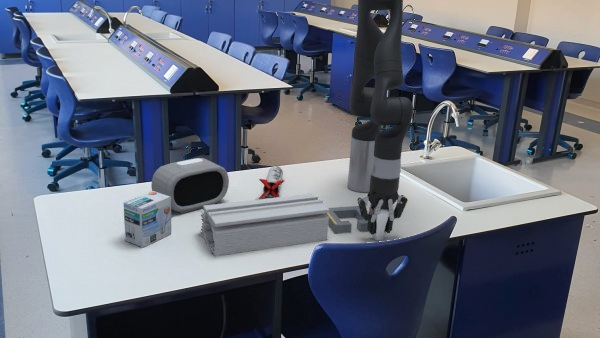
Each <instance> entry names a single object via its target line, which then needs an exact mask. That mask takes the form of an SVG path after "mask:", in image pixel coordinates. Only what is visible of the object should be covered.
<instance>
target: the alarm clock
mask: <svg viewBox="0 0 600 338" xmlns="http://www.w3.org/2000/svg"><path fill="white" fill-rule="evenodd" d="M229 179H230V178H229V174H228V172H227V170H226V169H225V167H223V166H221V165H219V164H217V163H215V162H213V161H210V160H208V159H206V158H204V157H197V158H191V159H185V160H179V161H175V162H171V163H167V164H165V165H161V166H159V168H157V169H156V170H155V172H154V174H153V175H152V179H151V191H155V192H158V193H161V194H164V195H167V196H170V197H171V211H172V210H173V211H175V212H177V213H180V214H186V213H189V212H192V211H196V210H200V209H203V206H205V205H214V204H216V203H218V202H220V201H222V200H223V199H224V198H225V197H226V194H227V193H228V189H229V183H230V180H229Z"/></svg>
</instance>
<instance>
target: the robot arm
mask: <svg viewBox="0 0 600 338" xmlns="http://www.w3.org/2000/svg"><path fill="white" fill-rule="evenodd" d="M403 8H404V0H357V28H356V29H357V30H356V37H355V44H354V57H353V58H354V59H353V77H352V82H351V83H352V84H351V87H350V88H351V90H350V96H349V103H348V105H349V106H348V107H349V112H350V113H351V115H352V116H355V117H360V118H361V117H364V118H371V119H370V120H369V121H367V122H365V123H362V124H358V125H355V126H354V127H353V128H351V129H352V130H351V139H350V150H349V151H350V152H349V162H348V164H349V166H348V176H347V188H348V189H349V190H351V191H354V192H358V193H368V194H367V195H366V196H364V197H357V203H358V205H357V206H359V208H360V212H361V216H362V217H363V218H364V219H365V220H366V221H367V220H368V226H367V230H368V231H367V232H368V233H369V234H370V235H371V236H372V235H374V231H375V219H376V216H377V215H378V213H379V211H380V209H384V210H385V209H386V210H388V211H389V219H388V223H387V227H386V232H385V234H390V233H391V232H392V231H393V226H394V220H395V219H400V218H401V216H402V215H403V212H404V210H405V207H406V206H407V203H408V198H407V197H406V196H405V195H403V194H401V195H400V194H399V187H400V178H401V169H402V165H401V164H402V161H401V160H402V159H401V158H402V153H403V152H402V150H403V143H404V140H405V137H406V134H407V131H408V129H409V127H410V124H411V122H412V119H413V115H414V106H413V103H412V101H411V100H410V98H408V97H406V96H387V93H388V91H391V90H395V89H398V88H400V87H402V86H403V84H404V73H403V72H404V71H403V70H404V69H403V60H402V38H403V34H402V33H403V14H404V13H403V12H404V11H403ZM372 11H373V12H374V11H390V12H389V14H390V15H389V21H388V24H387V27H386V29H385V31H384V32H383V31H382V30H381V29H380V27H379V26H378V25H377V24H376V22H375V20H374V18H373V16H372V13H371V12H372ZM373 78H374V79H375V80H374V87H368V86H367V87H366V85H367V84H368V83H369V82H370V81H371V80H373ZM382 126H391V128H390V129H389V130H386V131H383V132H382ZM368 202H369V203H370V206H369V209H368V210H369V211H368V210H367V206H368V204H369V203H368ZM395 203H396V205H395V206H394V204H395ZM393 206H394V207H393ZM374 208H375V210H374Z"/></svg>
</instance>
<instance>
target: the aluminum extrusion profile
mask: <svg viewBox="0 0 600 338" xmlns="http://www.w3.org/2000/svg"><path fill="white" fill-rule="evenodd" d="M258 199H259V198H258ZM258 199H251V200H243V201H233V202H226V203H225V202H224V203H217V204H216V203H215V204H214V205H205V206H203V208H202V210H200V213H201V214H200V217H201V219H200V220H201V222H202V223H201V228H200V230H201V232H200V234H201V235H202V237H203V238H204V241H206V243H207V244H208V247H209V249H210V250H211V252H212V253H213V255H214V257H221V256H227V255H231V254H232V255H233V254H240V253H247V252H253V251H260V250H267V249H268V250H269V249H274V248H280V247H288V246H294V245H300V244H301V245H302V244H308V243H314V242H321V241H327V240H328V235H329V225H328V222H329V221H328V220H329V217H328V216H327V215H326V214H324V213H329V209H328V208H329V207H327V206H326V205H325V204H324V200H323V199H319V196H318V195H317V196H315V195H314V194H313V193H305V194H296V195H289V196H288V195H287V196H286V195H285V196H279V197H276V198H275V197H267V198H263V199H259V200H258Z"/></svg>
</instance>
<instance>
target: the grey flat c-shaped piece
mask: <svg viewBox="0 0 600 338" xmlns="http://www.w3.org/2000/svg"><path fill="white" fill-rule="evenodd" d="M327 208H328V209H329V213H324V214H326V215H327V216H328V217H329V220H328V221H329V222H328V227H329V228H330V229H331V231H332V232H333V234H345V233H346V234H347V233H352V227H353V225H352V222H351V221H350V220H341V219H349V218H355V219H356V220H357V221H356V229H357V230H358V232H369V231H368V230H367V226H368V220H367V221H366V220H365V219H364V218H363V217H362V216H361V212H360V208H359V205H353V206H337V207H327Z"/></svg>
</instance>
